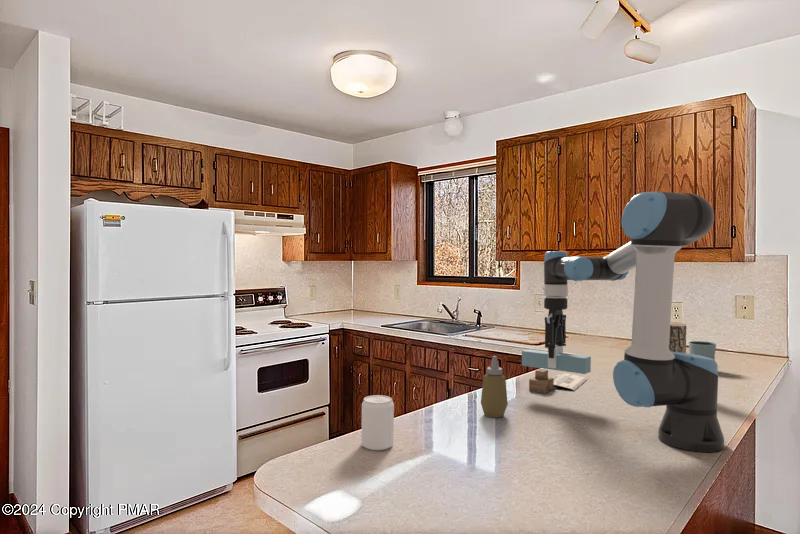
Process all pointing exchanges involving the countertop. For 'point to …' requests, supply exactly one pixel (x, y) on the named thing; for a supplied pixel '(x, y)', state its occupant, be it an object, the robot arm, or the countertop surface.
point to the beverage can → (377, 422)
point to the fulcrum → (541, 381)
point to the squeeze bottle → (494, 391)
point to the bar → (563, 361)
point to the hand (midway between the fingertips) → (555, 366)
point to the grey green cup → (702, 349)
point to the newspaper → (568, 381)
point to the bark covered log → (677, 337)
